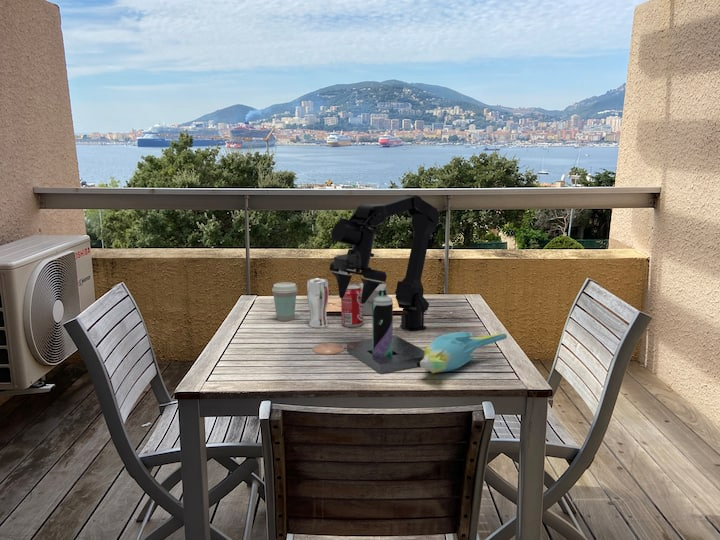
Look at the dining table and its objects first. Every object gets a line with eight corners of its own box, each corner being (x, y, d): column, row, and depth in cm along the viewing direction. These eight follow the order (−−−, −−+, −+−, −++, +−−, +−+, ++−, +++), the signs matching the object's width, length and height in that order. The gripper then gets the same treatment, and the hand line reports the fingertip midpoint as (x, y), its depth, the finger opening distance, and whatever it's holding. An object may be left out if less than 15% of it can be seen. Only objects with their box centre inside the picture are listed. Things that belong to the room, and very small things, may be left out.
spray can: (378, 366, 164) (378, 293, 160) (368, 359, 168) (368, 289, 164) (396, 362, 166) (396, 291, 162) (386, 356, 171) (386, 286, 167)
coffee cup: (303, 317, 210) (302, 283, 208) (287, 323, 203) (286, 288, 201) (283, 314, 215) (282, 280, 212) (267, 320, 208) (266, 285, 205)
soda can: (360, 328, 197) (360, 289, 195) (339, 327, 199) (338, 288, 196) (365, 322, 204) (365, 284, 202) (344, 321, 206) (343, 283, 203)
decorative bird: (399, 376, 157) (399, 341, 155) (463, 347, 179) (464, 316, 177) (444, 390, 148) (445, 353, 146) (506, 357, 170) (507, 325, 168)
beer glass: (332, 323, 204) (331, 279, 201) (324, 328, 197) (323, 283, 194) (312, 321, 206) (311, 277, 203) (304, 327, 199) (303, 282, 196)
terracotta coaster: (336, 342, 183) (336, 341, 183) (349, 351, 175) (349, 350, 175) (308, 347, 179) (308, 345, 179) (320, 356, 171) (320, 355, 171)
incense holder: (355, 316, 212) (354, 286, 210) (361, 310, 220) (361, 281, 218) (382, 318, 209) (382, 288, 207) (388, 311, 217) (388, 283, 215)
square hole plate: (395, 343, 183) (395, 335, 182) (432, 363, 165) (432, 355, 165) (346, 351, 176) (346, 342, 175) (380, 373, 158) (380, 364, 158)
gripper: (320, 239, 178) (310, 292, 178) (365, 247, 165) (353, 303, 165) (348, 246, 186) (338, 296, 186) (392, 253, 173) (381, 307, 173)
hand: (351, 300), depth 177 cm, fingers open, 9 cm apart
